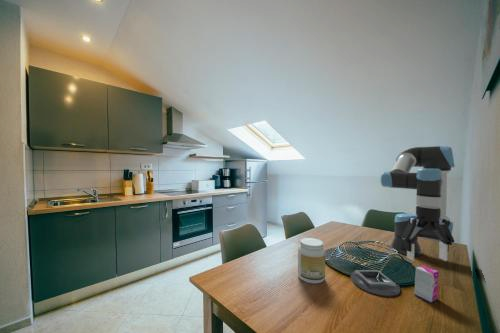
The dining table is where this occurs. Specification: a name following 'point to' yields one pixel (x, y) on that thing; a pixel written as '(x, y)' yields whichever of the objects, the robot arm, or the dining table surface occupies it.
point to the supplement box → (426, 283)
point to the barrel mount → (375, 283)
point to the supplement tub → (311, 260)
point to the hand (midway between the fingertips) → (426, 259)
